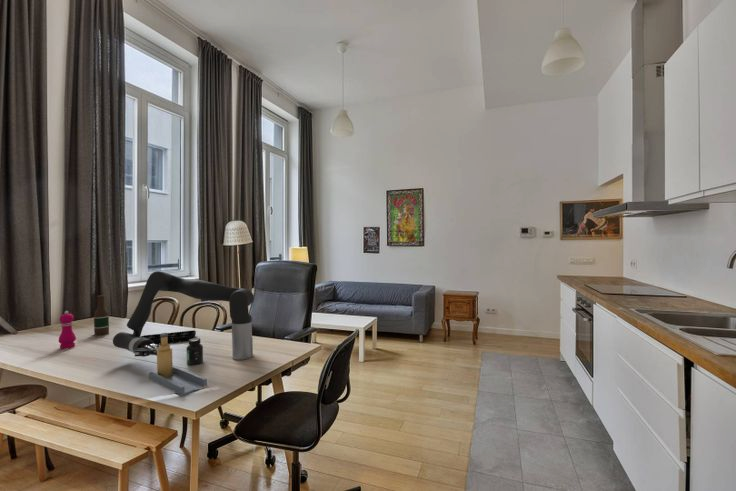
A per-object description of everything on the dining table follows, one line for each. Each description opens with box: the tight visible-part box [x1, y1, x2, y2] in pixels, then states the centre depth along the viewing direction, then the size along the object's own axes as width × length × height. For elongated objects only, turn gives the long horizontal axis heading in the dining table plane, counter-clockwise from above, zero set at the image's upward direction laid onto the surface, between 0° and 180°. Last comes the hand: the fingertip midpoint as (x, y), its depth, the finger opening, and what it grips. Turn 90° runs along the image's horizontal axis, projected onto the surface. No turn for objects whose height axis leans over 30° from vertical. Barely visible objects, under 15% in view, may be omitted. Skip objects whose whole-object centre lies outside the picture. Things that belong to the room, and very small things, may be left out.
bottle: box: [156, 332, 174, 378], centre depth 149 cm, size 6×6×18 cm
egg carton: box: [140, 329, 197, 345], centre depth 204 cm, size 18×30×4 cm, turn 124°
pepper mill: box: [58, 310, 77, 350], centre depth 194 cm, size 7×7×20 cm
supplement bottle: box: [185, 337, 204, 367], centre depth 164 cm, size 7×7×12 cm
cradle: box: [148, 365, 208, 398], centre depth 143 cm, size 26×10×4 cm, turn 55°
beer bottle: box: [93, 294, 110, 336], centre depth 221 cm, size 8×8×24 cm
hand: (159, 353), depth 151 cm, fingers closed
